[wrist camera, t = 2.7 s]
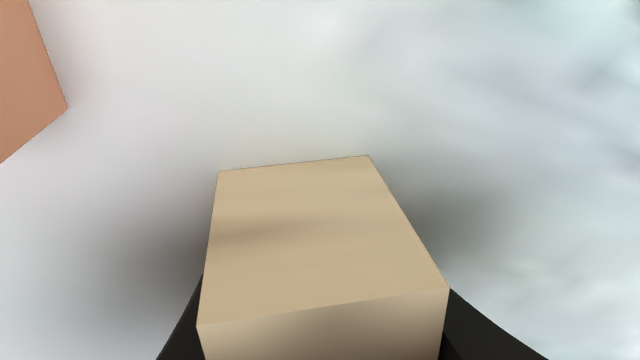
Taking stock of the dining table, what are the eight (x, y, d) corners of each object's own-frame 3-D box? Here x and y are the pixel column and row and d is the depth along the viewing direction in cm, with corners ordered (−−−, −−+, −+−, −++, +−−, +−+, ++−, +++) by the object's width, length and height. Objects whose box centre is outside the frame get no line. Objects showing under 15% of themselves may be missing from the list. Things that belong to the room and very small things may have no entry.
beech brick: (364, 310, 14) (418, 472, 9) (248, 328, 13) (248, 508, 9) (367, 155, 11) (450, 287, 6) (218, 171, 10) (196, 326, 6)
